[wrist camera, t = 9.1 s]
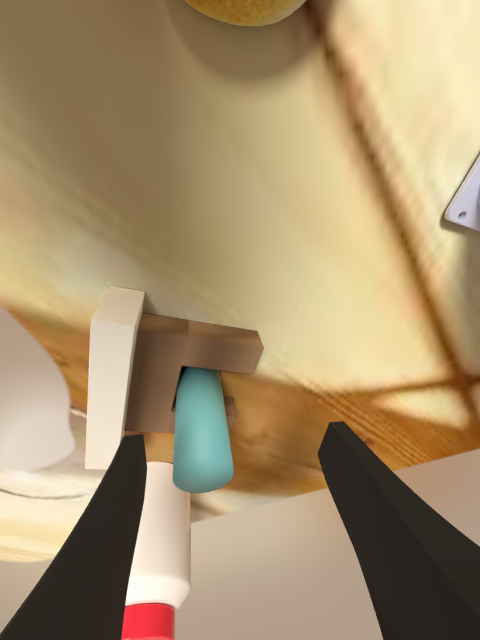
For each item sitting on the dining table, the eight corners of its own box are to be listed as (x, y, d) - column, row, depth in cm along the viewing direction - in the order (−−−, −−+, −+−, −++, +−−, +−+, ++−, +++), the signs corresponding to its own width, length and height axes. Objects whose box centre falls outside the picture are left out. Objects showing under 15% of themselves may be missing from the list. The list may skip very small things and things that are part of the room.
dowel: (224, 359, 21) (240, 458, 14) (214, 390, 23) (226, 492, 16) (181, 354, 20) (177, 456, 13) (174, 386, 22) (168, 493, 15)
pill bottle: (142, 513, 30) (121, 673, 21) (91, 483, 26) (37, 665, 17) (204, 485, 29) (211, 639, 20) (161, 450, 25) (145, 623, 16)
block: (257, 331, 20) (263, 347, 18) (225, 416, 24) (228, 436, 23) (142, 312, 18) (137, 329, 16) (129, 409, 22) (124, 430, 20)
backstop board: (145, 291, 17) (134, 326, 14) (127, 422, 23) (116, 469, 19) (110, 285, 17) (90, 319, 13) (100, 420, 22) (85, 468, 19)
